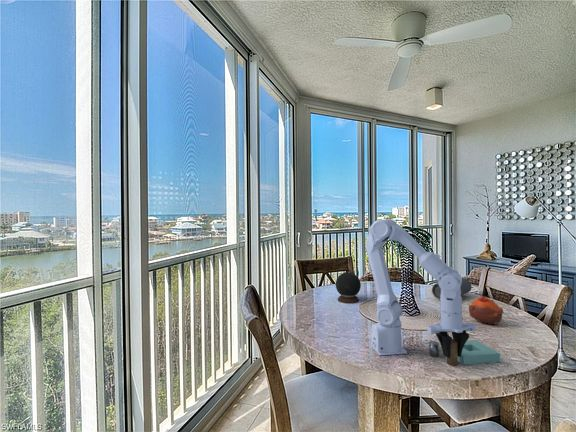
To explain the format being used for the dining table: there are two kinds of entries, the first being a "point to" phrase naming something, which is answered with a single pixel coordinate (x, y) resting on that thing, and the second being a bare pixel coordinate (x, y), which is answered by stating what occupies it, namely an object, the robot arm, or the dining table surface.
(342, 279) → the snow globe
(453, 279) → the robot arm
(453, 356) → the walnut dowel
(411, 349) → the dining table surface
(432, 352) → the metal stub
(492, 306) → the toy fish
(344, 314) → the dining table surface
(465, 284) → the bluetooth speaker
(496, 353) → the hole block
